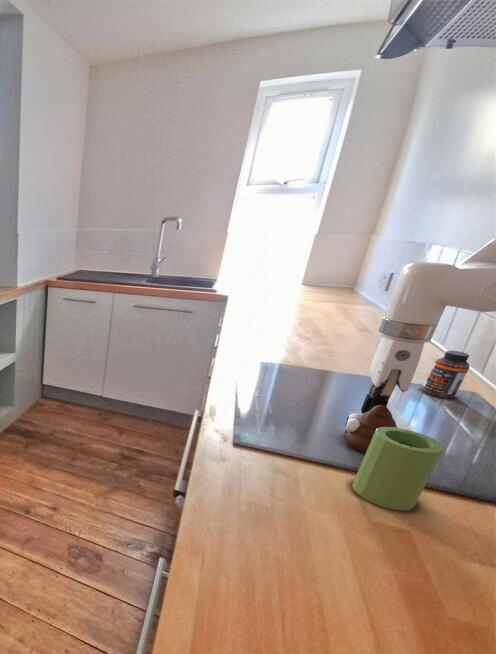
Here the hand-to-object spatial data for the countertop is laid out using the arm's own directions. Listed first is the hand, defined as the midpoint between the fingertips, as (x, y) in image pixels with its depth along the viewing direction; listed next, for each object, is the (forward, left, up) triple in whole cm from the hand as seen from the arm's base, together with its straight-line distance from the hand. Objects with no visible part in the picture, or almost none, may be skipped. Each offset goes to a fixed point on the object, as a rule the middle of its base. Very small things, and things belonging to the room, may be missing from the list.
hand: (370, 414), depth 86 cm
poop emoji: (+4, +3, -5) cm, 7 cm away
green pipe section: (+19, +15, -5) cm, 25 cm away
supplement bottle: (-41, -9, -5) cm, 42 cm away
